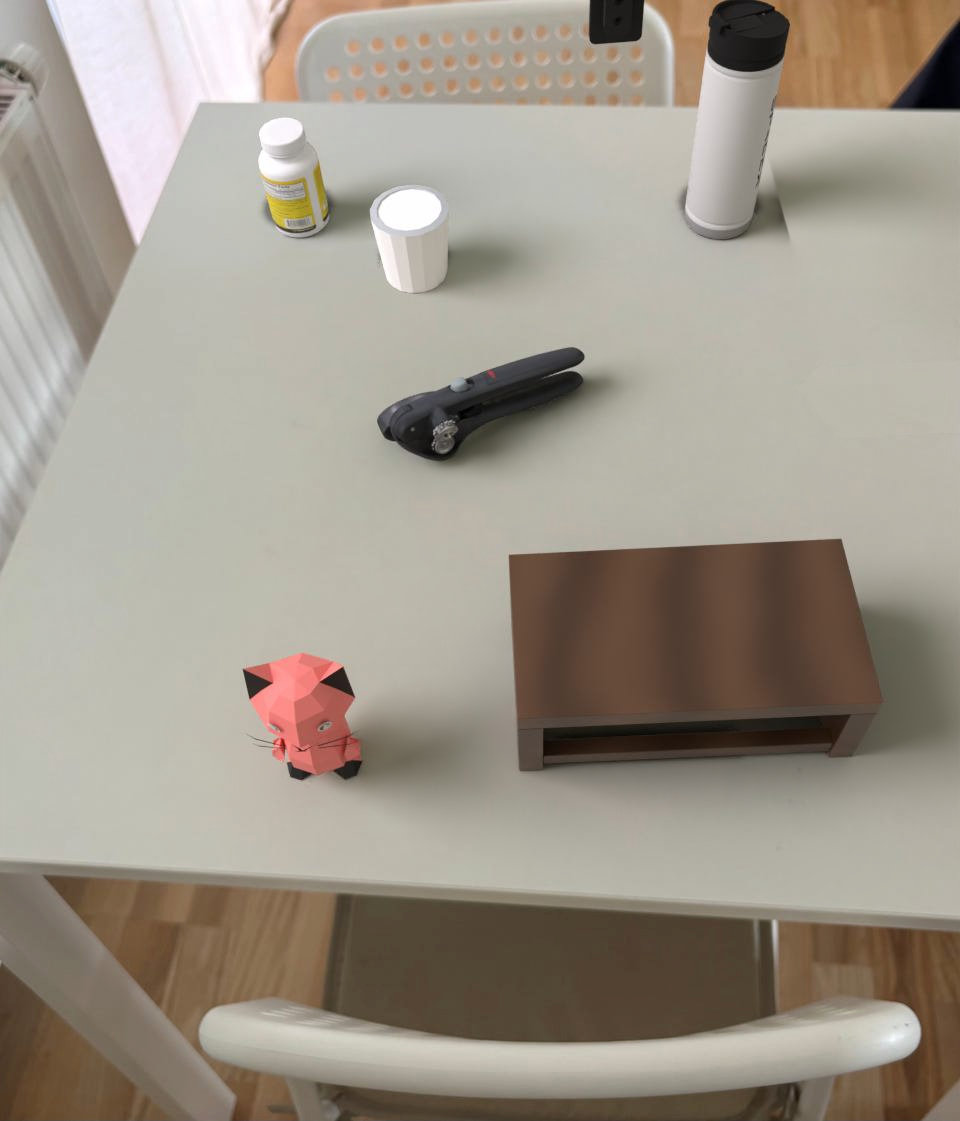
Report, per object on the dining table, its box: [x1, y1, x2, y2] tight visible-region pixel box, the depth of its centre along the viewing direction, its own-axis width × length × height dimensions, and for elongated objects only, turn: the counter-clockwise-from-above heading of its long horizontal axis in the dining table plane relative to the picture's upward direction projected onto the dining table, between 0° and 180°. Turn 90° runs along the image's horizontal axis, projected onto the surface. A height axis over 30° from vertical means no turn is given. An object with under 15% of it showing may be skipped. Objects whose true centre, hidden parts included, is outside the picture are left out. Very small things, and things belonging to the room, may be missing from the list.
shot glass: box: [369, 184, 450, 294], centre depth 98 cm, size 7×7×7 cm
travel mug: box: [684, 0, 791, 240], centre depth 94 cm, size 6×7×20 cm
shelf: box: [508, 538, 884, 772], centre depth 73 cm, size 22×12×8 cm, turn 92°
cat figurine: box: [242, 652, 363, 781], centre depth 69 cm, size 7×7×12 cm
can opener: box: [376, 346, 586, 462], centre depth 88 cm, size 18×7×6 cm, turn 115°
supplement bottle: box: [258, 117, 330, 238], centre depth 101 cm, size 5×5×10 cm
